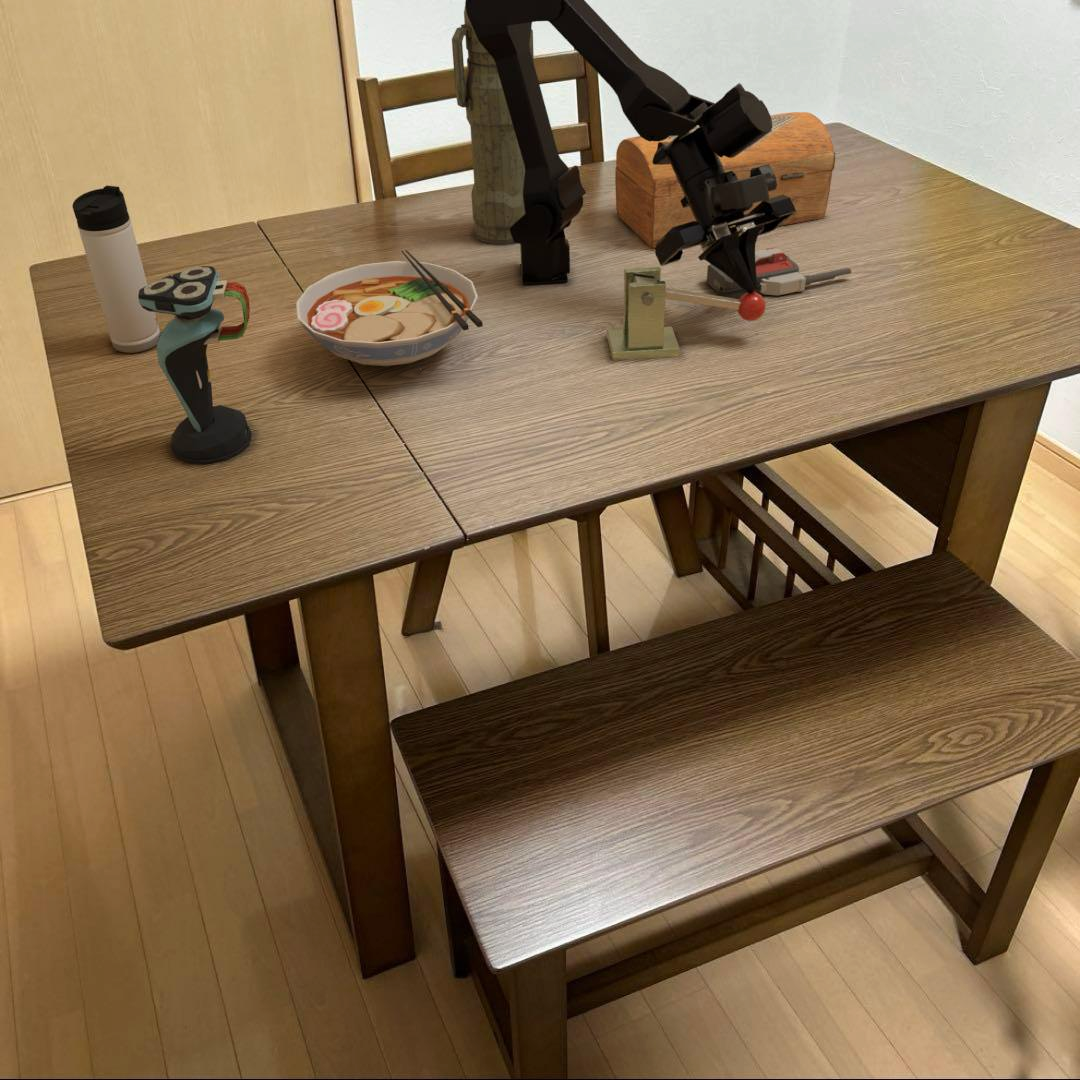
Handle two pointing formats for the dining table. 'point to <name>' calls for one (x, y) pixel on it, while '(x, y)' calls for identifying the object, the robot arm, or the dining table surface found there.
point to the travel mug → (116, 268)
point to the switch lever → (718, 300)
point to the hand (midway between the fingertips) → (753, 291)
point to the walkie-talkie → (769, 276)
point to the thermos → (489, 140)
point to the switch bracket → (643, 320)
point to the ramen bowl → (388, 311)
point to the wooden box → (788, 148)
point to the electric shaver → (197, 361)
